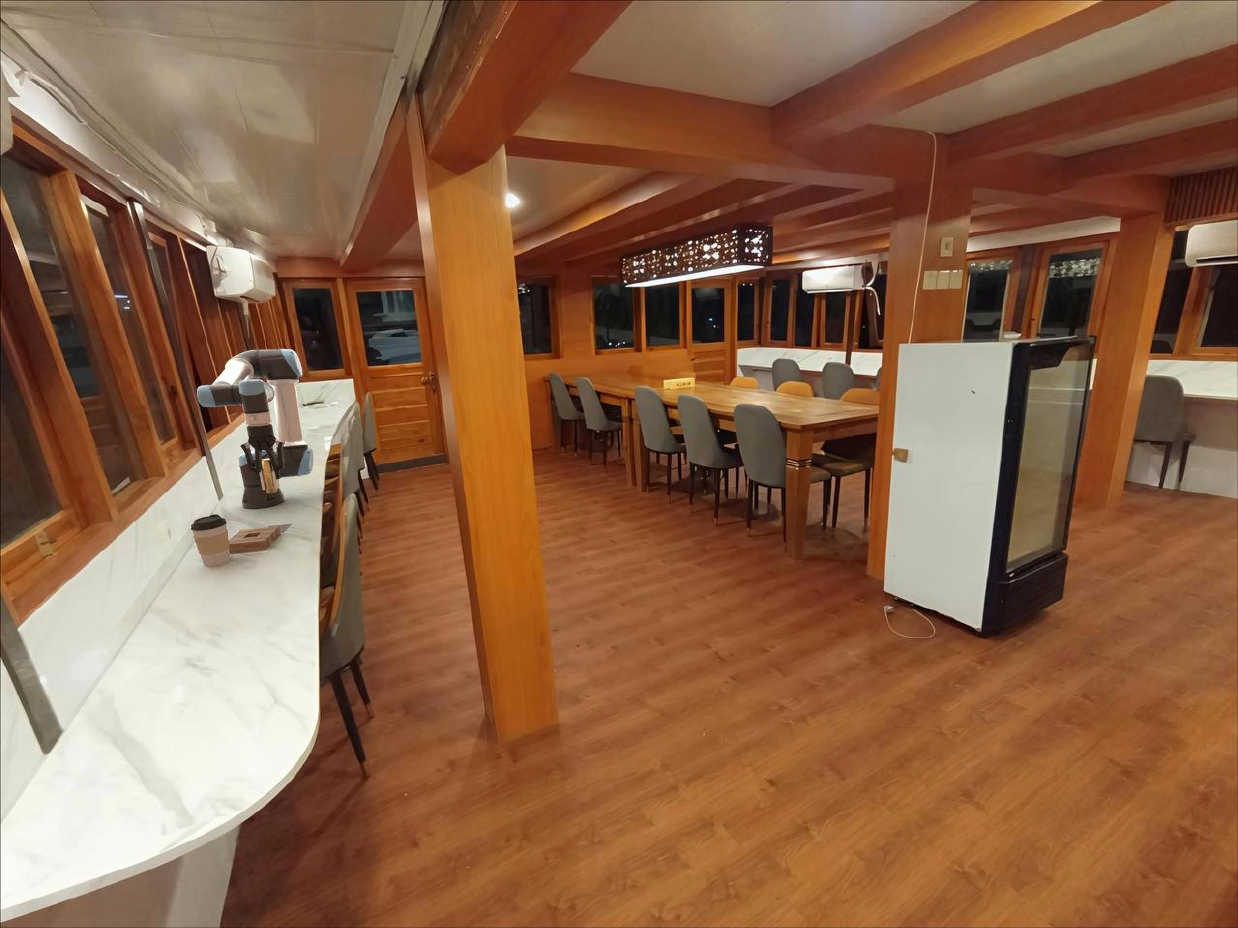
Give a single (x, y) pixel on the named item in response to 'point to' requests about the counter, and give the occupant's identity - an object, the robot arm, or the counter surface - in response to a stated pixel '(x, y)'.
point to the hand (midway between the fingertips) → (271, 488)
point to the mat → (282, 527)
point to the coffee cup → (212, 540)
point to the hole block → (253, 539)
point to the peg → (268, 475)
